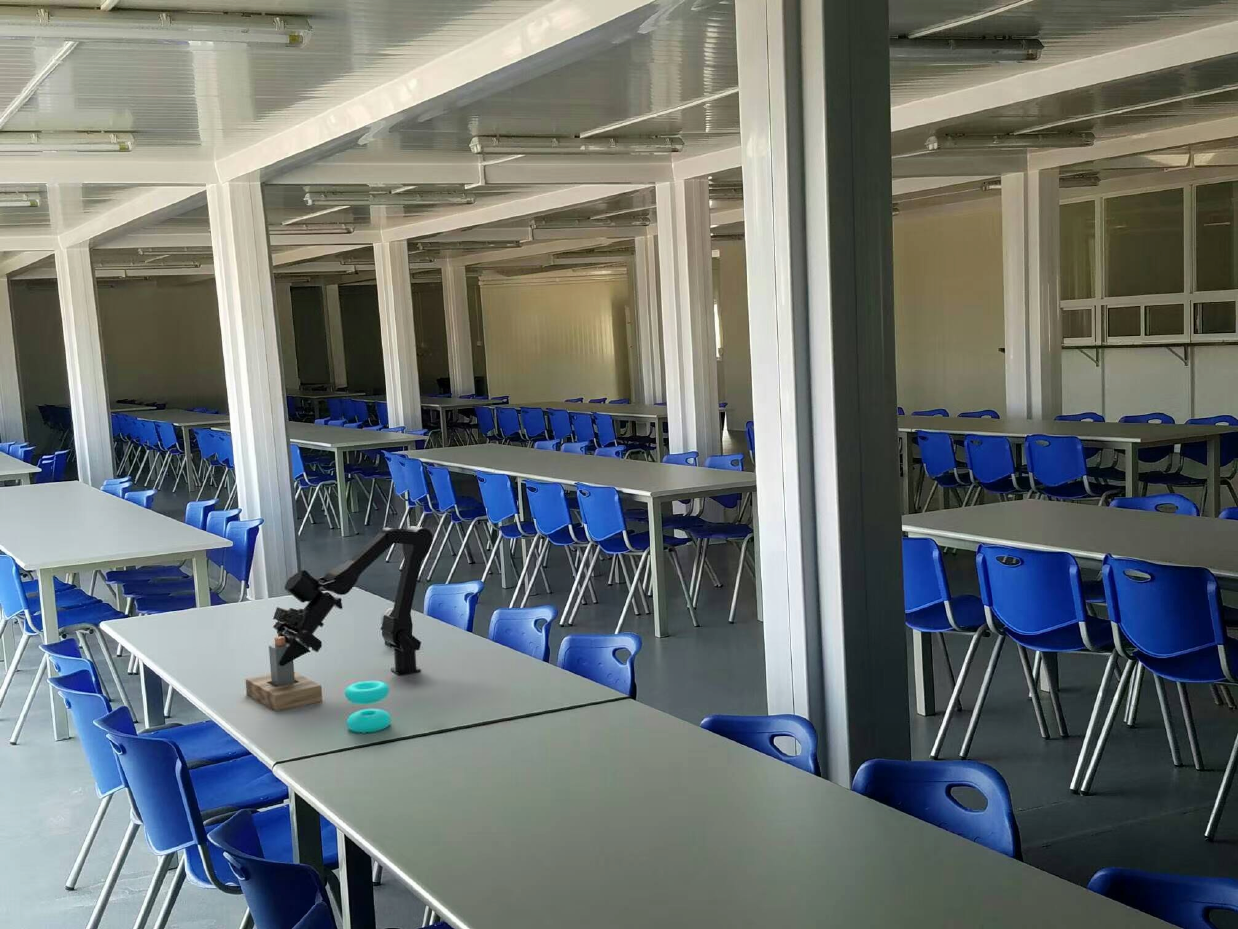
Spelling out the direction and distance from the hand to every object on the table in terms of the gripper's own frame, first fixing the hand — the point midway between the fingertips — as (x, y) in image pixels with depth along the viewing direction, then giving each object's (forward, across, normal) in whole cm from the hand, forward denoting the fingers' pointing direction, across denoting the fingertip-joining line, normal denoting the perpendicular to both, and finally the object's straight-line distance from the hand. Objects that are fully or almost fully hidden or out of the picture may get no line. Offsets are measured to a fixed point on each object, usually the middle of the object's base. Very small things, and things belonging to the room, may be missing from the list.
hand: (276, 663), depth 309 cm
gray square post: (+4, 0, +6) cm, 7 cm away
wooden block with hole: (+6, 0, +7) cm, 9 cm away
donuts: (+2, +38, +11) cm, 40 cm away
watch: (-26, -29, +40) cm, 56 cm away
